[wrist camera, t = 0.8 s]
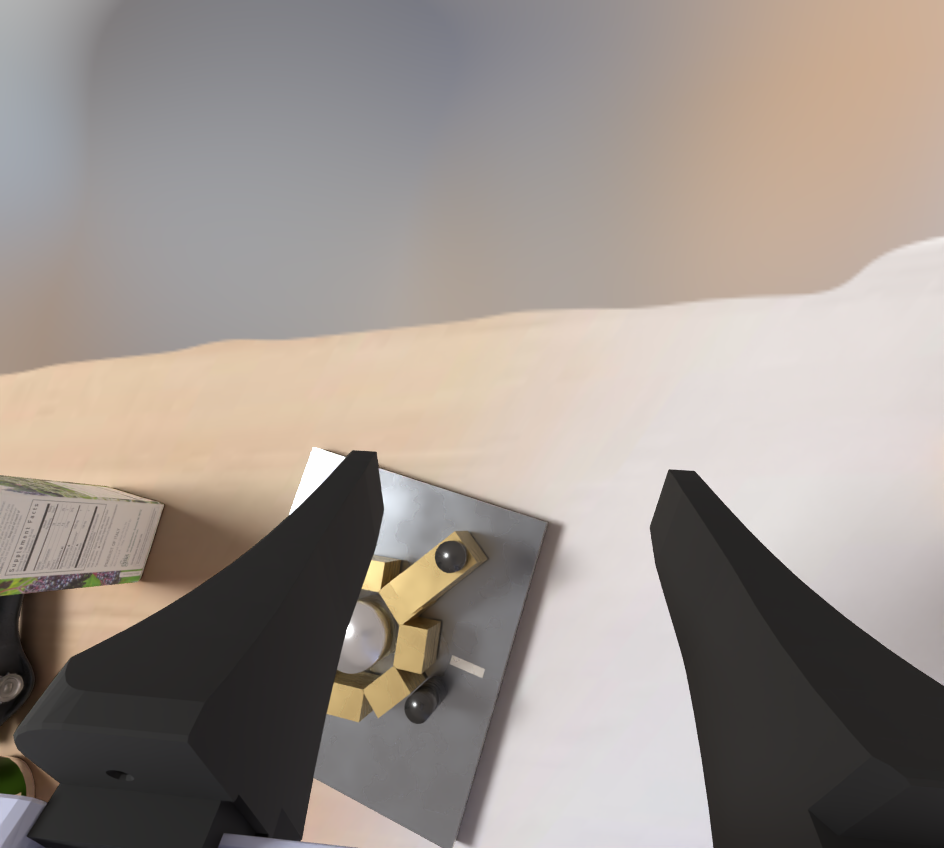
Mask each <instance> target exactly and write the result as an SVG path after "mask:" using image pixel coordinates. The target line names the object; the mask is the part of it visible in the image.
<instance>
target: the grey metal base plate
mask: <svg viewBox="0 0 944 848" xmlns="http://www.w3.org/2000/svg"><path fill="white" fill-rule="evenodd" d="M344 459H345V457H344V456H341V455H338V454H335V453H331V452H328V451H325V450H322V449H319V448H315V447H313V449H312V452H311V455H310V458H309V461H308V463H307V466H306V469H305V472H304V475H303V477H302V480H301V483H300V486H299V489H298V491H297V494H296V497H295V500H294V503H293V505H292V508H291V511H290V514H291V513H292V512H293V511H294V510H295V509H296V508H297V507H298V506H299V505H300V504H301V503H302V502H303V501H304V500H305V499H306V498H307V497H308V496H309V495H310V494H311V493H312V492H313V491H314V490H315V489H316V488H317V487H318V486H319V485H320V484H321V483H322V482H323V481H324V480H325V479H326V478H327V477H328V476H329V475H330V474H331V473H332V471H333V470H334V469H335V468H336V467H337V466H338V465H339V464H340V463H341V462H342V461H343V460H344ZM379 474H380V481H381V489H382V496H383V503H384V513H383V518H382V523H381V528H380V532H379V537H378V541H377V546H376V549H375V552H374V555H377V556H383V557H388V558H394V559H400V560H401V565H400V571H399V574H401V573H403V572H404V571H405V570H406V569H408V568H409V567H410V566H411V565H413V564H414V563H415V562H416V561H418V560H419V559H420V558H421V557H423V556H424V555H425V554H427V553H428V552H429V551H430V550H432V549H433V548H434V547H435V546H437V545H438V544H439V543H440V542H442V541H443V540H444V539H445V538H447V537H448V536H449V535H450V534H452V533H453V532H454V531H469V533H470V534H471V536H472V537H473V538H474V540H475V541H476V543H477V544H478V545H479V547H480V548H481V550H482V551H483V552H484V554H485V555H486V557H487V558H488V560H486V561H485V562H484V563H483V564H481V565H480V566H479V567H477V568H476V569H475V570H474V571H472V572H471V573H470V574H469V575H467V576H466V577H465V578H463V579H462V580H461V581H460V582H458V583H457V584H456V585H455V586H453V587H452V588H451V589H449V590H448V591H447V592H446V593H444V594H443V595H442V596H441V597H439V598H438V599H437V600H436V601H437V602H436V603H434V604H433V605H432V606H431V607H429V608H428V609H427V610H426V611H424V612H423V613H422V614H420V615H419V616H418V617H423V618H428V619H433V620H438V621H441V627H440V634H439V641H438V649H437V656H436V662H435V663H434V664H432V665H431V666H430V667H429V668H428V669H427V670H425V671H424V672H423V673H422V674H423V675H424V677H425V678H426V680H424V681H423V682H422V683H421V684H420V685H419V686H418V687H417V688H416V689H415V690H414V691H413V692H411V693H410V694H409V695H408V696H406V697H405V698H404V699H403V700H401V701H400V702H399V703H397V704H396V705H395V706H394V707H392V708H391V709H390V710H388V711H387V712H386V713H385V714H383V715H382V716H381V717H379V718H378V717H377V715H376V714H375V712H374V710H373V711H372V712H371V713H370V714H368V715H367V716H366V717H365V718H364V719H362V720H361V721H360V722H355V721H352V720H348V719H344V718H340V717H337V716H333V715H329V714H327V715H326V719H325V724H324V728H323V733H322V738H321V743H320V748H319V752H318V757H317V762H316V767H315V772H314V777H313V778H315V779H317V780H319V781H320V782H322V783H324V784H326V785H328V786H330V787H332V788H333V789H335V790H337V791H339V792H341V793H343V794H344V795H346V796H348V797H350V798H352V799H354V800H355V801H357V802H359V803H361V804H363V805H365V806H367V807H368V808H370V809H372V810H374V811H376V812H378V813H379V814H381V815H383V816H385V817H387V818H389V819H390V820H392V821H394V822H396V823H398V824H400V825H402V826H403V827H405V828H407V829H409V830H411V831H413V832H414V833H416V834H418V835H420V836H422V837H424V838H425V839H427V840H429V841H431V842H433V843H435V844H436V845H438V846H440V847H442V848H453V846H454V844H455V842H456V838H457V835H458V832H459V828H460V825H461V821H462V818H463V814H464V811H465V807H466V804H467V800H468V797H469V794H470V790H471V787H472V783H473V780H474V776H475V773H476V769H477V766H478V763H479V759H480V756H481V752H482V749H483V745H484V742H485V738H486V735H487V732H488V728H489V725H490V721H491V718H492V714H493V711H494V707H495V704H496V701H497V697H498V694H499V690H500V687H501V683H502V680H503V676H504V673H505V670H506V666H507V663H508V659H509V656H510V652H511V649H512V645H513V642H514V638H515V635H516V632H517V628H518V625H519V621H520V618H521V614H522V611H523V607H524V604H525V601H526V597H527V594H528V590H529V587H530V583H531V580H532V576H533V573H534V570H535V566H536V563H537V559H538V556H539V552H540V549H541V545H542V542H543V539H544V535H545V532H546V528H547V525H548V522H545V521H542V520H539V519H536V518H533V517H529V516H526V515H523V514H520V513H517V512H514V511H511V510H508V509H505V508H502V507H499V506H495V505H492V504H489V503H486V502H483V501H480V500H477V499H474V498H471V497H468V496H464V495H461V494H458V493H455V492H452V491H449V490H446V489H443V488H440V487H437V486H434V485H430V484H427V483H424V482H421V481H418V480H415V479H412V478H409V477H406V476H403V475H400V474H396V473H393V472H390V471H387V470H384V469H381V468H379ZM290 514H289V515H290ZM398 631H399V624H398V622H397V621H396V619H395V617H394V616H393V614H392V613H391V611H390V609H389V608H388V606H387V605H386V603H385V601H384V600H383V598H382V596H381V595H380V593H379V592H375V591H370V590H364V589H361V592H360V595H359V598H358V600H357V603H356V606H355V609H354V612H353V615H352V617H351V620H350V623H349V626H348V630H347V633H346V636H345V639H344V643H343V647H342V651H341V655H340V659H339V663H338V667H337V670H339V671H341V672H343V673H348V674H355V673H359V672H362V671H363V672H367V673H371V674H375V675H380V676H381V675H383V674H384V673H385V672H386V671H388V670H389V669H390V668H392V667H393V664H394V657H395V651H396V644H397V637H398Z"/></svg>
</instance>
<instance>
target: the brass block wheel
mask: <svg viewBox="0 0 944 848" xmlns="http://www.w3.org/2000/svg"><path fill="white" fill-rule="evenodd" d="M486 560H488V558H487V557H486V555H485V554H484V552H483V551H482V550H481V548H480V547H479V545H478V544H477V543H476V541H475V540H474V538H473V537H472V536H471V534H470V533H469V531H454V532H453V533H452V534H450V535H449V536H448V537H447V538H445V539H444V540H443V541H442V542H440V543H439V544H438V545H437V546H435V547H434V548H433V549H432V550H430V551H429V552H428V553H427V554H425V555H424V556H423V557H421V558H420V559H419V560H418V561H416V562H415V563H414V564H413V565H411V566H410V567H409V568H408V569H406V570H405V571H404V572H403V573H401V574H399V571H400V565H401V560H400V559H394V558H388V557H383V556H377V555H373V557H372V560H371V563H370V566H369V569H368V572H367V575H366V578H365V581H364V583H363V586H362V589H364V590H370V591H375V592H379V593H380V595H381V596H382V598H383V600H384V601H385V603H386V605H387V606H388V608H389V609H390V611H391V613H392V614H393V616H394V617H395V619H396V621H397V622H398V624H399V631H398V637H397V644H396V651H395V657H394V664H393V667H392V668H390V669H389V670H388V671H386V672H385V673H384V674H383V675H381V676H380V675H375V674H371V673H367V672H363V671H362V672H359V673H355V674H348V673H343V672H341V671H339V670H337V671H336V675H335V680H334V684H333V688H332V693H331V697H330V701H329V706H328V710H327V714H329V715H333V716H337V717H340V718H344V719H348V720H352V721H355V722H360V721H361V720H362V719H364V718H365V717H366V716H367V715H368V714H370V713H371V712H372V711H373V710H374V712H375V714H376V715H377V717H378V718H379V717H381V716H382V715H383V714H385V713H386V712H387V711H388V710H390V709H391V708H392V707H394V706H395V705H396V704H397V703H399V702H400V701H401V700H403V699H404V698H405V697H406V696H408V695H409V694H410V693H411V692H413V691H414V690H415V689H416V688H417V687H418V686H419V685H420V684H421V683H422V682H423V681H424V680H426V678H425V677H424V675H423V674H422V673H423V672H424V671H425V670H427V669H428V668H429V667H430V666H431V665H432V664H434V663H435V662H436V656H437V649H438V641H439V634H440V627H441V621H438V620H433V619H428V618H423V617H418V616H419V615H420V614H422V613H423V612H424V611H426V610H427V609H428V608H429V607H431V606H432V605H433V604H434V603H436V602H437V601H436V600H437V599H438V598H439V597H441V596H442V595H443V594H444V593H446V592H447V591H448V590H449V589H451V588H452V587H453V586H455V585H456V584H457V583H458V582H460V581H461V580H462V579H463V578H465V577H466V576H467V575H469V574H470V573H471V572H472V571H474V570H475V569H476V568H477V567H479V566H480V565H481V564H483V563H484V562H485V561H486Z"/></svg>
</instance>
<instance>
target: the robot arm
mask: <svg viewBox="0 0 944 848" xmlns="http://www.w3.org/2000/svg"><path fill="white" fill-rule="evenodd" d="M383 513H384V503H383V496H382V489H381V481H380V474H379V466H378V459H377V452H371V451H354V450H353V451H352V452H350V453H349V454H348V455H347V456H346V457H345V459H344V460H343V461H342V462H341V463H340V464H339V465H338V466H337V467H336V468H335V469H334V470H333V471H332V473H331V474H330V475H329V476H328V477H327V478H326V479H325V480H324V481H323V482H322V483H321V484H320V485H319V486H318V487H317V488H316V489H315V490H314V491H313V492H312V493H311V494H310V495H309V496H308V497H307V498H306V499H305V500H304V501H303V502H302V503H301V504H300V505H299V506H298V507H297V508H296V509H295V510H294V511H293V512H292V513H291V514H290V515H289V516H288V517H287V518H286V519H284V520H283V521H282V522H281V523H280V524H279V525H278V526H277V527H276V528H275V529H273V530H272V531H271V532H270V533H269V534H268V535H267V536H265V537H264V538H263V539H262V540H261V541H260V542H258V543H257V544H256V545H255V546H253V547H252V548H251V549H250V550H248V551H247V552H246V553H245V554H243V555H242V556H241V557H239V558H238V559H237V560H236V561H234V562H233V563H232V564H230V565H229V566H227V567H226V568H225V569H223V570H222V571H220V572H219V573H217V574H216V575H214V576H213V577H212V578H210V579H209V580H207V581H206V582H204V583H203V584H201V585H200V586H198V587H197V588H195V589H194V590H192V591H191V592H189V593H188V594H186V595H185V596H183V597H181V598H180V599H178V600H176V601H175V602H173V603H172V604H170V605H168V606H167V607H165V608H163V609H162V610H160V611H158V612H156V613H155V614H153V615H151V616H149V617H148V618H146V619H144V620H143V621H141V622H139V623H137V624H135V625H133V626H132V627H130V628H128V629H126V630H124V631H122V632H120V633H118V634H116V635H114V636H112V637H111V638H109V639H107V640H105V641H103V642H101V643H99V644H97V645H95V646H93V647H91V648H89V649H87V650H85V651H83V652H81V653H79V654H77V655H75V656H73V657H71V658H70V659H69V661H68V662H67V663H66V664H65V666H64V667H63V668H62V669H61V671H60V672H59V673H58V674H57V676H56V677H55V678H54V680H53V681H52V682H51V684H50V685H49V686H48V688H47V689H46V690H45V692H44V693H43V694H42V696H41V697H40V698H39V700H38V701H37V702H36V704H35V705H34V706H33V708H32V709H31V710H30V712H29V713H28V714H27V716H26V717H25V718H24V720H23V721H22V722H21V724H20V725H19V726H18V728H17V729H16V731H15V733H14V735H13V736H14V741H15V744H16V747H17V749H18V750H19V751H20V752H21V753H22V754H23V755H24V756H25V757H27V758H28V759H29V760H31V761H32V762H33V763H34V764H36V765H37V766H38V767H40V768H41V769H42V770H44V771H45V772H46V773H47V774H49V775H50V776H51V777H53V778H54V779H55V780H57V781H58V782H59V783H60V784H59V786H58V787H57V789H56V791H55V792H54V794H53V795H52V797H51V798H50V800H49V802H48V803H47V802H45V801H42V800H39V799H36V798H32V797H27V796H19V795H10V794H1V793H0V848H356V847H346V846H337V845H328V844H319V843H310V842H301V840H302V836H303V831H304V825H305V819H306V814H307V809H308V804H309V798H310V793H311V788H312V782H313V777H314V772H315V767H316V762H317V757H318V752H319V748H320V743H321V738H322V733H323V728H324V724H325V719H326V715H327V710H328V706H329V701H330V697H331V693H332V688H333V684H334V680H335V675H336V671H337V667H338V663H339V659H340V655H341V651H342V647H343V643H344V639H345V636H346V633H347V630H348V626H349V623H350V620H351V617H352V615H353V612H354V609H355V606H356V603H357V600H358V598H359V595H360V592H361V589H362V586H363V583H364V581H365V578H366V575H367V572H368V569H369V566H370V563H371V560H372V557H373V555H374V552H375V549H376V546H377V541H378V537H379V532H380V528H381V523H382V518H383ZM650 532H651V539H652V546H653V552H654V558H655V564H656V568H657V572H658V575H659V579H660V582H661V586H662V589H663V593H664V596H665V599H666V603H667V606H668V609H669V613H670V616H671V620H672V623H673V626H674V630H675V633H676V636H677V640H678V643H679V646H680V650H681V653H682V657H683V661H684V665H685V669H686V674H687V679H688V684H689V690H690V695H691V700H692V706H693V711H694V716H695V722H696V728H697V734H698V740H699V746H700V752H701V758H702V765H703V772H704V779H705V786H706V793H707V800H708V807H709V814H710V823H711V831H712V839H713V848H944V686H943V685H941V684H940V683H938V682H937V681H935V680H934V679H932V678H931V677H929V676H927V675H926V674H924V673H923V672H921V671H920V670H918V669H917V668H915V667H914V666H912V665H911V664H909V663H908V662H906V661H905V660H904V659H902V658H901V657H899V656H898V655H896V654H895V653H893V652H892V651H891V650H889V649H888V648H886V647H885V646H884V645H882V644H881V643H880V642H878V641H877V640H875V639H874V638H873V637H871V636H870V635H869V634H867V633H866V632H865V631H863V630H862V629H860V628H859V627H858V626H856V625H855V624H854V623H852V622H851V621H850V620H849V619H847V618H846V617H845V616H843V615H842V614H841V613H840V612H838V611H837V610H836V609H835V608H833V607H832V606H831V605H830V604H829V603H827V602H826V601H825V600H824V599H823V598H821V597H820V596H819V595H818V594H817V593H815V592H814V591H813V590H812V589H810V588H809V587H808V586H807V585H806V584H805V583H804V582H802V581H801V580H800V579H799V578H798V577H797V576H796V575H795V574H793V573H792V572H791V571H790V570H789V569H788V568H787V567H786V566H785V565H784V564H783V563H782V562H781V561H780V560H779V559H778V558H776V557H775V556H774V555H773V554H772V553H771V552H770V551H769V550H768V549H767V548H766V547H765V546H764V545H763V544H762V543H761V542H760V541H759V540H758V539H757V538H756V537H755V536H754V535H753V534H752V533H751V532H750V531H749V530H748V529H747V528H746V527H745V525H744V524H743V523H742V522H741V521H740V520H739V519H738V518H737V517H736V516H735V515H734V514H733V513H732V512H731V510H730V509H729V508H728V507H727V506H726V505H725V504H724V503H723V502H722V501H721V500H720V498H719V497H718V496H717V495H716V494H715V493H714V492H713V491H712V490H711V488H710V487H709V486H708V485H707V484H706V483H705V482H704V481H703V480H702V479H701V477H700V476H699V475H698V474H697V473H696V472H695V471H686V470H668V473H667V476H666V479H665V482H664V485H663V488H662V491H661V494H660V498H659V501H658V504H657V507H656V510H655V513H654V516H653V519H652V522H651V525H650Z"/></svg>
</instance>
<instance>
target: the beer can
mask: <svg viewBox="0 0 944 848" xmlns="http://www.w3.org/2000/svg"><path fill="white" fill-rule="evenodd" d="M0 793H1V794H10V795H19V796H27V797H32V798H34V797H35V783H34V779H33V775H32V772H31V770H30V768H29V767H28V765H27V763H25V762H24V761H23V760H21V759H20V758H17V757H13V756H0Z"/></svg>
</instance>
